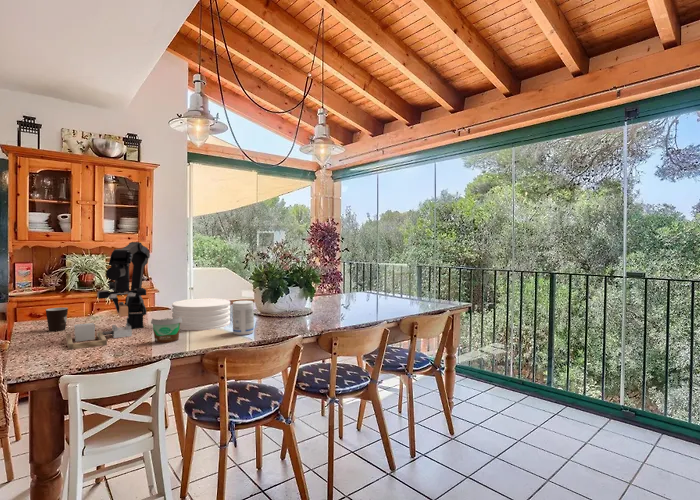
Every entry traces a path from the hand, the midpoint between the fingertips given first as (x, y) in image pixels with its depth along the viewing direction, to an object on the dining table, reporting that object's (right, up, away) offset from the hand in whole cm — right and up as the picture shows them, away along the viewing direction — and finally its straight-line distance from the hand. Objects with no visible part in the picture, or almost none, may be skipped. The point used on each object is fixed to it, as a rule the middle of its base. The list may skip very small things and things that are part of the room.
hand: (122, 312), depth 186 cm
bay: (-9, -11, -12) cm, 18 cm away
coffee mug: (-36, -10, +11) cm, 39 cm away
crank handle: (0, -1, 0) cm, 1 cm away
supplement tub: (+52, -11, +9) cm, 54 cm away
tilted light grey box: (-13, -11, -6) cm, 18 cm away
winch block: (-2, -11, 0) cm, 11 cm away
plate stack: (+26, -11, +27) cm, 39 cm away
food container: (+24, -12, -9) cm, 28 cm away
